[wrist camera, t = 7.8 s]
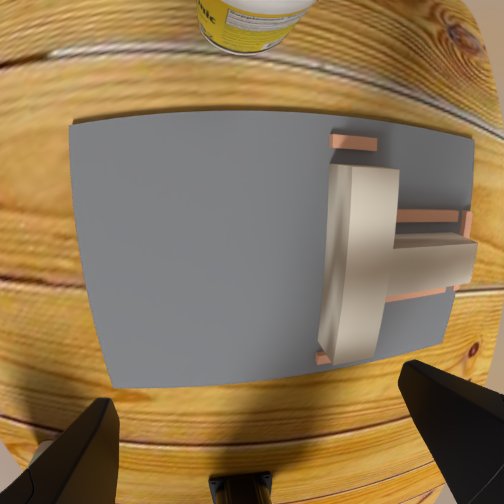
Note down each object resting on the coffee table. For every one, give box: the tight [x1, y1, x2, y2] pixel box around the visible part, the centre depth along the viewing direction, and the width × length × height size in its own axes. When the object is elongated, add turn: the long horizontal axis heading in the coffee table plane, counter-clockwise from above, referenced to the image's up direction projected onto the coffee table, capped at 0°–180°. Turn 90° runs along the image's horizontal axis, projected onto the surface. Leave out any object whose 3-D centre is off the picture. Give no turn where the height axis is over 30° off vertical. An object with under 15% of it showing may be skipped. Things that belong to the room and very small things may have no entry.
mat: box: [69, 111, 475, 388], centre depth 20 cm, size 18×28×1 cm, turn 91°
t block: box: [318, 163, 478, 365], centre depth 19 cm, size 12×11×3 cm
